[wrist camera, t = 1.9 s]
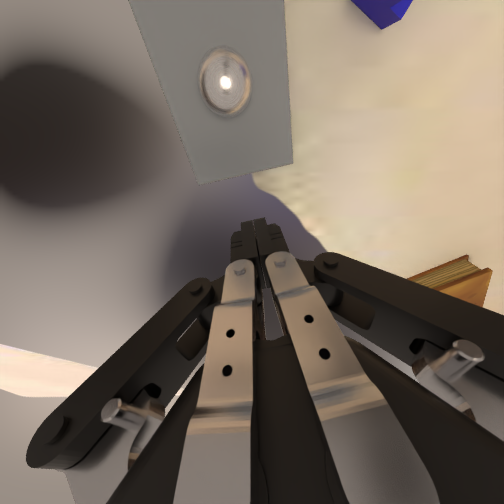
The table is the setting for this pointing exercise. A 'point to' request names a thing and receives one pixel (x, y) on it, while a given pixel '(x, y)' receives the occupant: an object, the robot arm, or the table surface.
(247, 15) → the pocket slab
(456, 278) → the diary
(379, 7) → the cable clip
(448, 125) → the table surface
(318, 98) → the table surface
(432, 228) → the table surface
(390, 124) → the table surface
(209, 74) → the steel ball
